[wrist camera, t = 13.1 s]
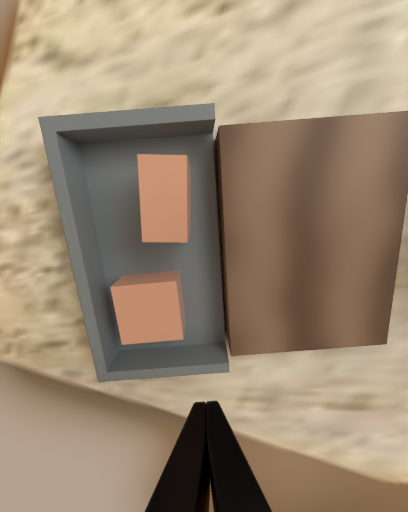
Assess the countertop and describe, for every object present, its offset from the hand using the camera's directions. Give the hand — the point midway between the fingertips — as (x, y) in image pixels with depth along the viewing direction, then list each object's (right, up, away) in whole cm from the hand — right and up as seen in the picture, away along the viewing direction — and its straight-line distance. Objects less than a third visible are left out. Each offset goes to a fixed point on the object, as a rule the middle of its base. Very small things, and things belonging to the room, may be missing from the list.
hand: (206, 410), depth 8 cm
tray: (-4, +6, +10) cm, 12 cm away
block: (-4, +1, +8) cm, 9 cm away
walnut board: (+7, +7, +10) cm, 14 cm away
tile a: (-1, +9, +6) cm, 11 cm away
